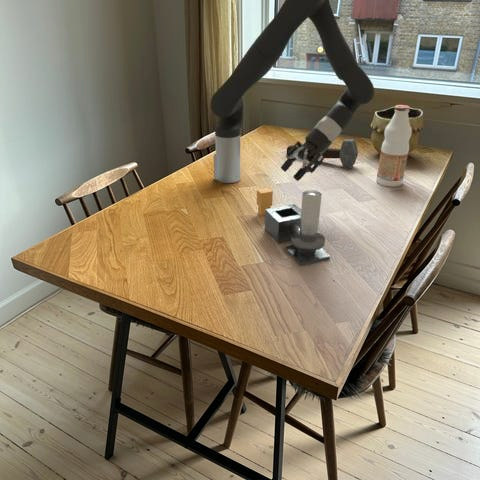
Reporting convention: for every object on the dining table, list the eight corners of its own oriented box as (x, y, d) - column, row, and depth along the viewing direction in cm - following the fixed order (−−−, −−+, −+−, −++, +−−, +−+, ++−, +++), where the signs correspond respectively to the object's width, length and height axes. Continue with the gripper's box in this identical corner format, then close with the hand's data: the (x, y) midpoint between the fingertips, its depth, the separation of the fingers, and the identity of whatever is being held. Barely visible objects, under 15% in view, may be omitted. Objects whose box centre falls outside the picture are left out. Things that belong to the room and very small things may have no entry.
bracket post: (264, 230, 132) (266, 173, 123) (292, 224, 135) (296, 169, 126) (299, 266, 115) (304, 204, 106) (330, 258, 118) (338, 197, 109)
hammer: (286, 165, 191) (353, 169, 175) (284, 139, 186) (353, 141, 170) (291, 162, 194) (357, 166, 179) (289, 137, 190) (357, 138, 174)
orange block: (256, 212, 143) (256, 189, 139) (267, 210, 144) (268, 187, 140) (260, 216, 140) (261, 193, 136) (271, 214, 141) (272, 191, 137)
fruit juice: (380, 187, 160) (393, 109, 146) (372, 177, 169) (384, 103, 155) (405, 187, 161) (421, 109, 147) (397, 177, 169) (411, 103, 155)
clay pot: (388, 168, 178) (397, 118, 168) (356, 152, 194) (362, 106, 185) (427, 161, 185) (438, 113, 175) (393, 146, 202) (401, 102, 192)
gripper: (305, 121, 140) (271, 160, 142) (329, 133, 129) (292, 175, 131) (318, 136, 145) (285, 173, 147) (342, 148, 133) (306, 189, 135)
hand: (288, 174), depth 139 cm, fingers open, 8 cm apart
